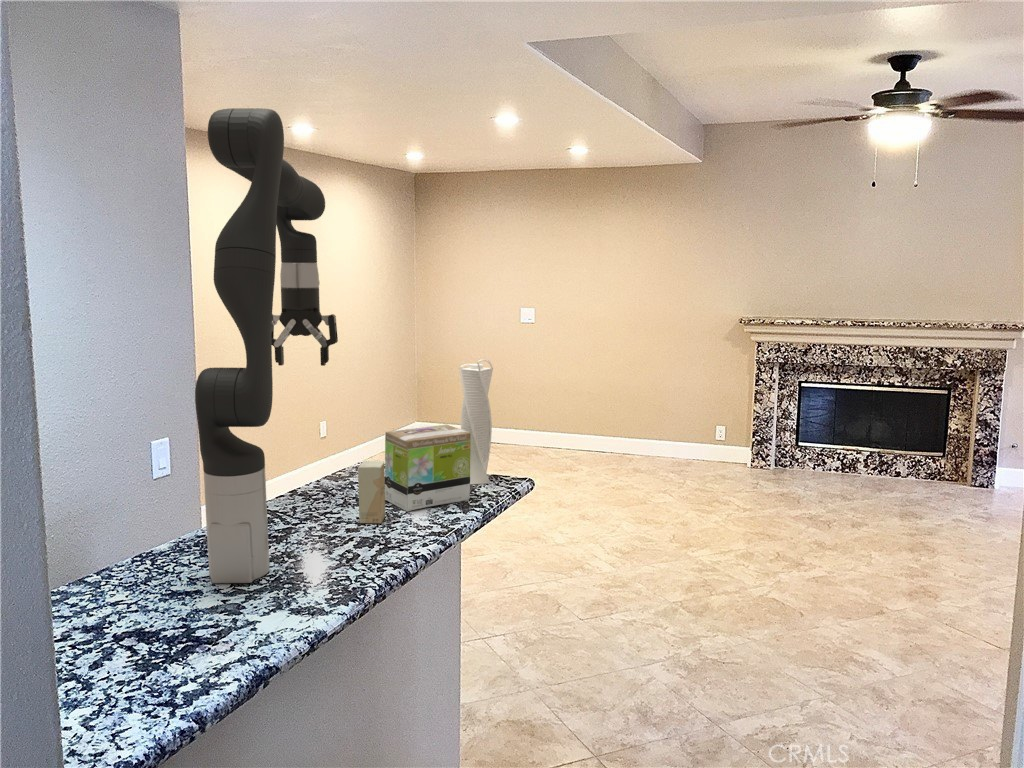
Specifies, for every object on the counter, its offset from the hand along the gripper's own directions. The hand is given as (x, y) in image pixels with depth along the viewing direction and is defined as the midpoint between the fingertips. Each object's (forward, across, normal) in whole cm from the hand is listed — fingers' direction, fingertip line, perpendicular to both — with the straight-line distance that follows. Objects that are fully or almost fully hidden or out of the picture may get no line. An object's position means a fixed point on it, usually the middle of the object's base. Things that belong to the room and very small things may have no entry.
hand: (302, 365), depth 170 cm
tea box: (+28, +26, -4) cm, 38 cm away
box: (+28, +15, -15) cm, 36 cm away
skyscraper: (+28, +36, +10) cm, 46 cm away
